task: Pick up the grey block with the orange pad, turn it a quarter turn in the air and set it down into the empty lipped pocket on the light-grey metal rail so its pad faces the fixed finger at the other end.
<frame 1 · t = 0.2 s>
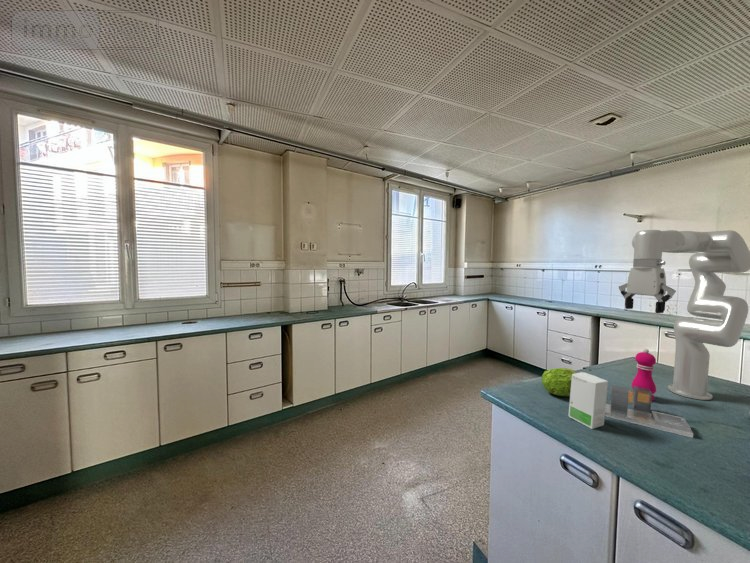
hand: (643, 310, 107), 36 cm above the countertop, tool pointing down, fingers open, 9 cm apart
rail: (642, 420, 99), on the countertop
skincare box: (586, 421, 99), on the countertop
lettuce: (566, 391, 123), on the countertop
pepper mill: (642, 398, 116), on the countertop
grey block: (641, 410, 106), on the countertop
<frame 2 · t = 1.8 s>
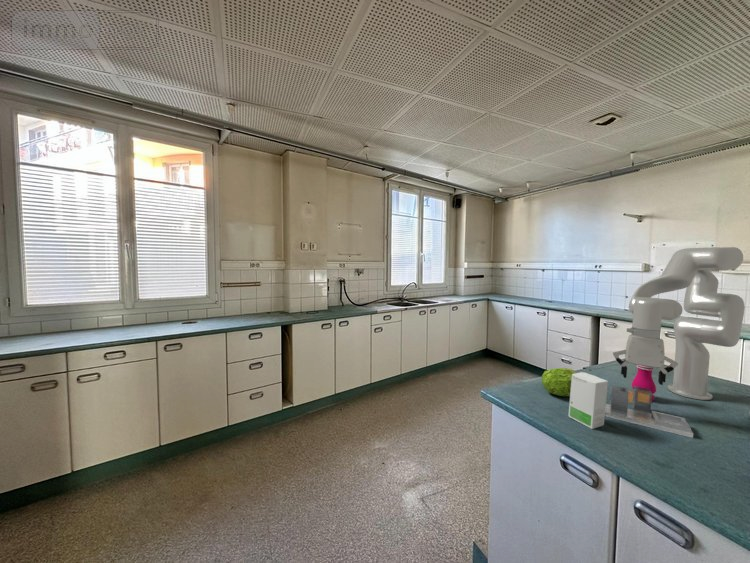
hand: (642, 380, 105), 12 cm above the countertop, tool pointing down, fingers open, 9 cm apart
nothing on the countertop moved.
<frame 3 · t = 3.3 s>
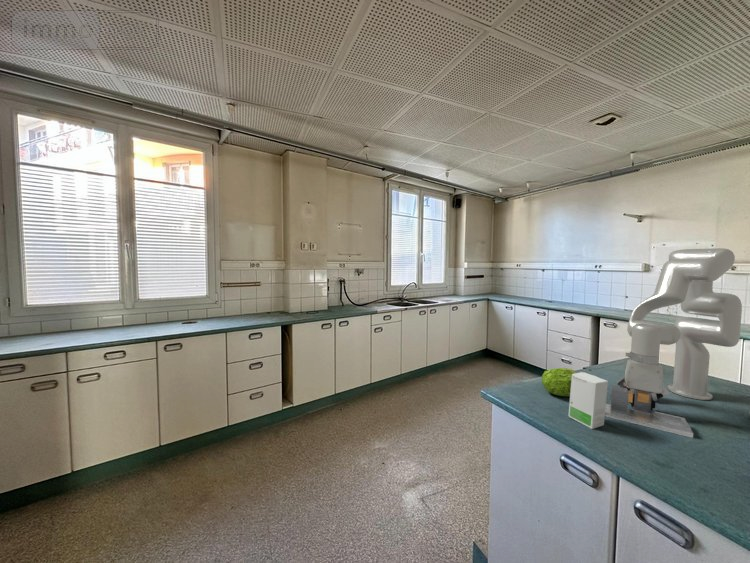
hand: (641, 406, 106), 1 cm above the countertop, tool pointing down, fingers closed on grey block, 4 cm apart
grey block: (641, 410, 106), on the countertop, touching gripper
everything else where it was.
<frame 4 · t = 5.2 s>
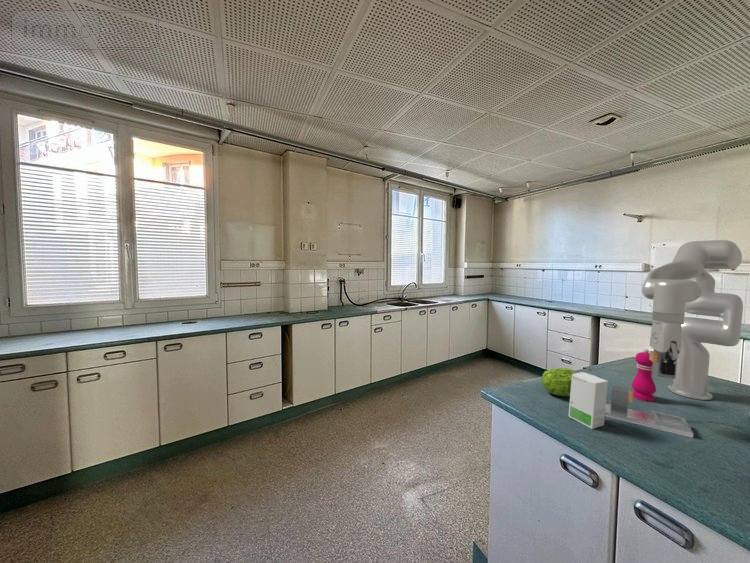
hand: (664, 371, 97), 18 cm above the countertop, tool pointing down, fingers closed on grey block, 4 cm apart
grey block: (663, 375, 98), point 16 cm above the countertop, touching gripper
everything else where it was.
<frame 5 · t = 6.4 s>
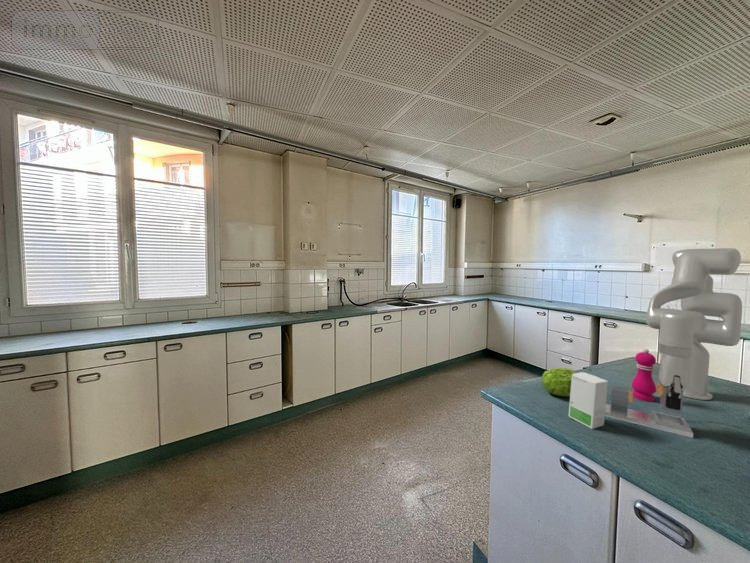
hand: (671, 405, 95), 8 cm above the countertop, tool pointing down, fingers closed on grey block, 4 cm apart
grey block: (670, 409, 95), point 6 cm above the countertop, touching gripper
everything else where it was.
when the fingers open (4 cm above the countertop, at t = 7.3 s): grey block stays where it is, resting on rail.
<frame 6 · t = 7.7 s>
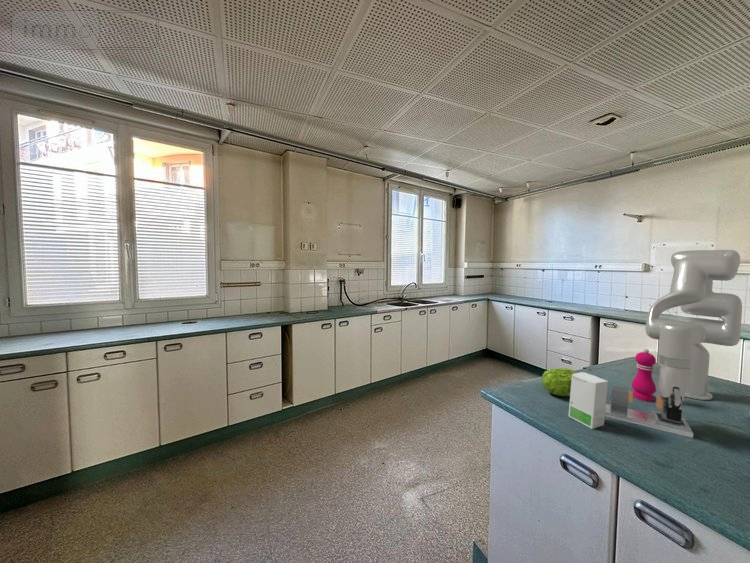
hand: (670, 414, 95), 4 cm above the countertop, tool pointing down, fingers open, 8 cm apart
grey block: (669, 422, 96), point 1 cm above the countertop, touching rail
everything else where it was.
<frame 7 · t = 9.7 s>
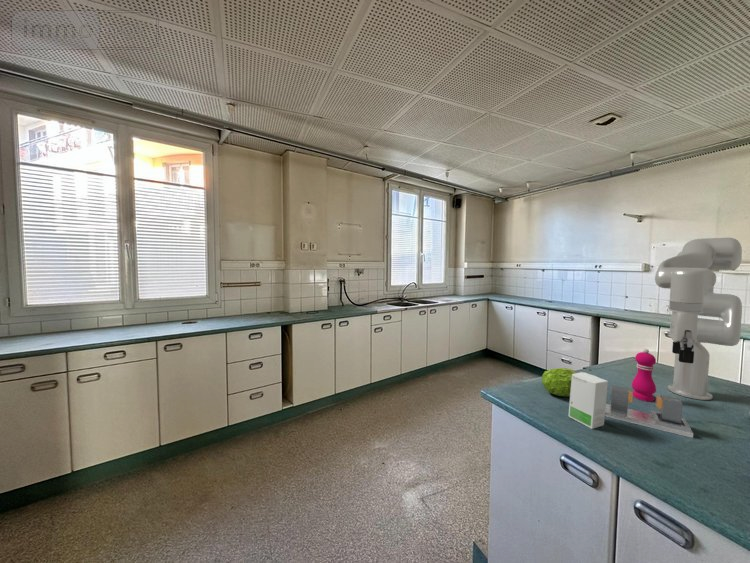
hand: (682, 357, 97), 22 cm above the countertop, tool pointing down, fingers open, 9 cm apart
nothing on the countertop moved.
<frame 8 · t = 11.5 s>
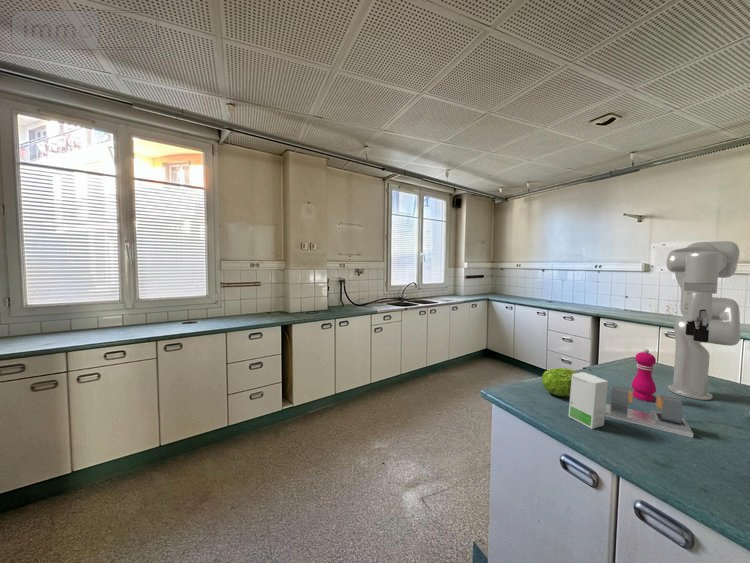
hand: (696, 338, 99), 28 cm above the countertop, tool pointing down, fingers open, 9 cm apart
nothing on the countertop moved.
at the end: grey block 0.1 cm from the target spot on the rail, point 1.5 cm above the rail's base; grey block tilted 0°; the gripper is holding nothing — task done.
